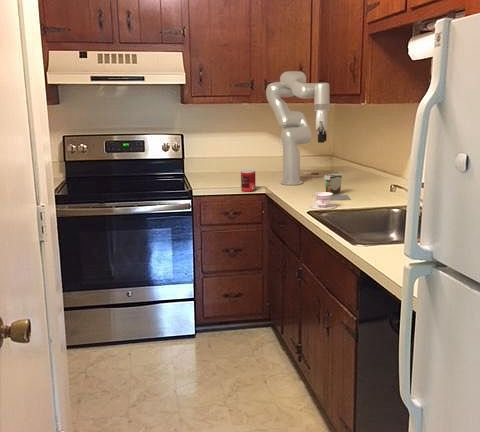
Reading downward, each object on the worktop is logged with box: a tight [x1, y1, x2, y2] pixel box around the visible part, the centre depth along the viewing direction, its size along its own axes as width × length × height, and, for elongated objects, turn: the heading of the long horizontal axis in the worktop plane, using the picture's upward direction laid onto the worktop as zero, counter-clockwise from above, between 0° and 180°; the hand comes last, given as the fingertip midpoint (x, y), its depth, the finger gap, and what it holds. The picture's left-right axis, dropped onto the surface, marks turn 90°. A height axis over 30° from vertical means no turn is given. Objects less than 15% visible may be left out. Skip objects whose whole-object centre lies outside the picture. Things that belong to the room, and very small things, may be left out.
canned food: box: [240, 169, 256, 193], centre depth 287 cm, size 8×8×11 cm
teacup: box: [309, 191, 338, 210], centre depth 245 cm, size 12×12×6 cm
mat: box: [315, 194, 352, 201], centre depth 265 cm, size 12×16×1 cm
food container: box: [323, 173, 343, 195], centre depth 273 cm, size 12×6×10 cm, turn 140°
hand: (322, 141), depth 277 cm, fingers open, 9 cm apart
